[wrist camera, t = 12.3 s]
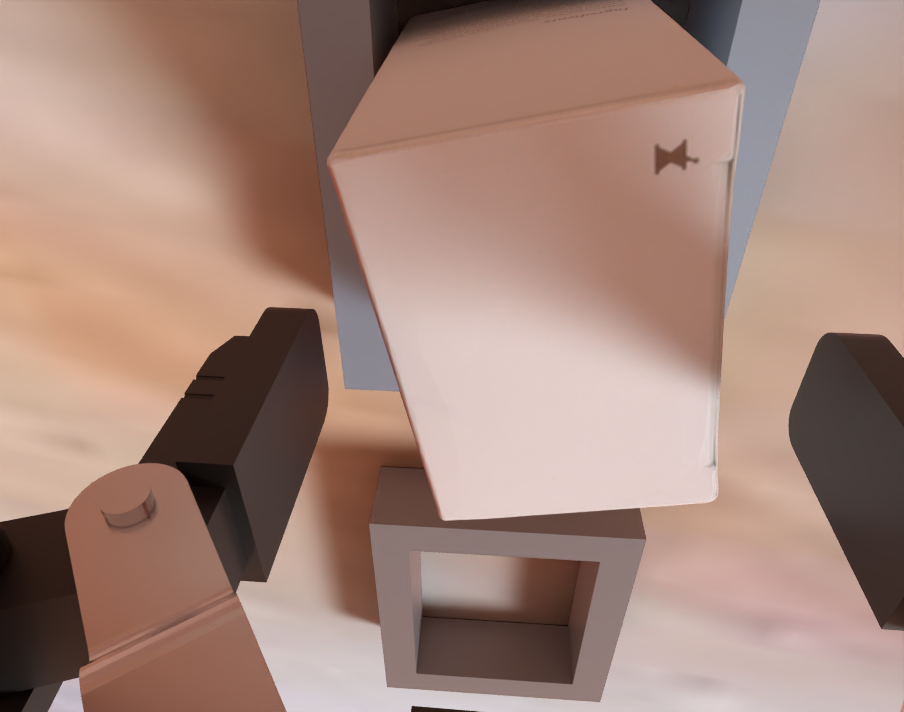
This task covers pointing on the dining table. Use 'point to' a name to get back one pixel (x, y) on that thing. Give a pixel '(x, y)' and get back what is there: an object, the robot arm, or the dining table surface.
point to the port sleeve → (376, 31)
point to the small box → (549, 250)
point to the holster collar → (488, 642)
